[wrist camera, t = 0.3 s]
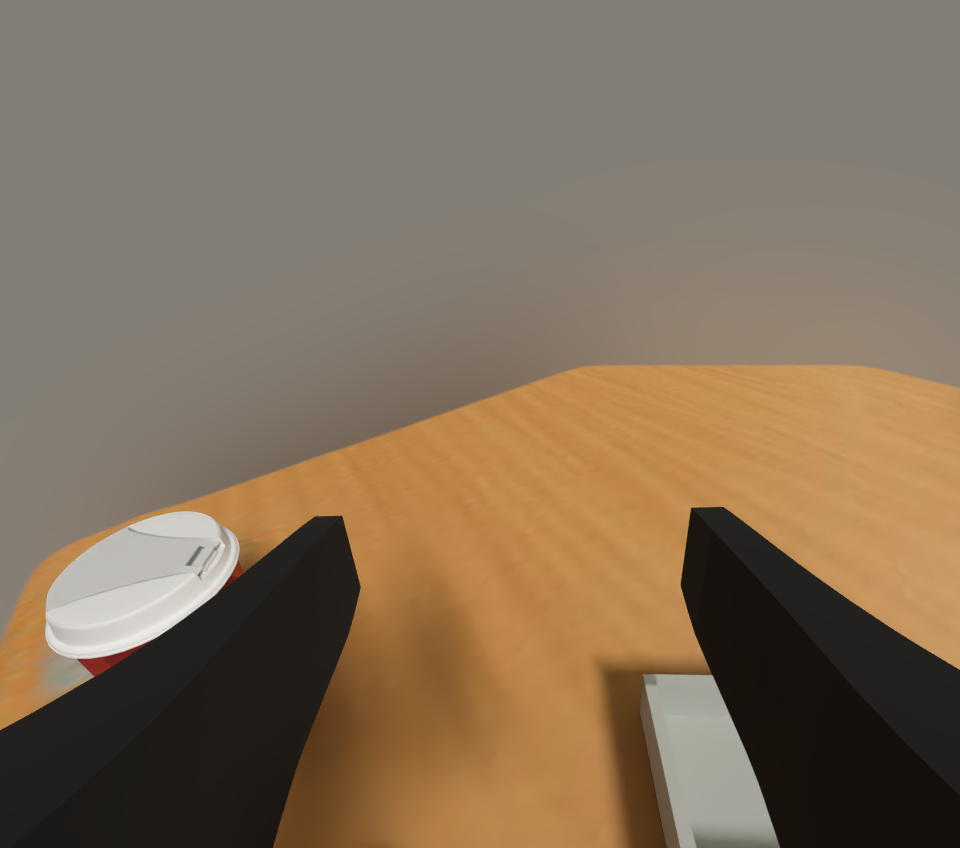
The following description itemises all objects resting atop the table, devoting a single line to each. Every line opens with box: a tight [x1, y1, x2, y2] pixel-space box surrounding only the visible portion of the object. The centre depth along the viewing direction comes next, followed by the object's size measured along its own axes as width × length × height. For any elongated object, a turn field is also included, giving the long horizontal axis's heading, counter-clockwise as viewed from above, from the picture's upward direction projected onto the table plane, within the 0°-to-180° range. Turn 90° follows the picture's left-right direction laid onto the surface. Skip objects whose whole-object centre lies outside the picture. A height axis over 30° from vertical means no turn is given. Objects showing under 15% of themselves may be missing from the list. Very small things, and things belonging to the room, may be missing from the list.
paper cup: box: [45, 511, 243, 677], centre depth 24 cm, size 8×8×14 cm
